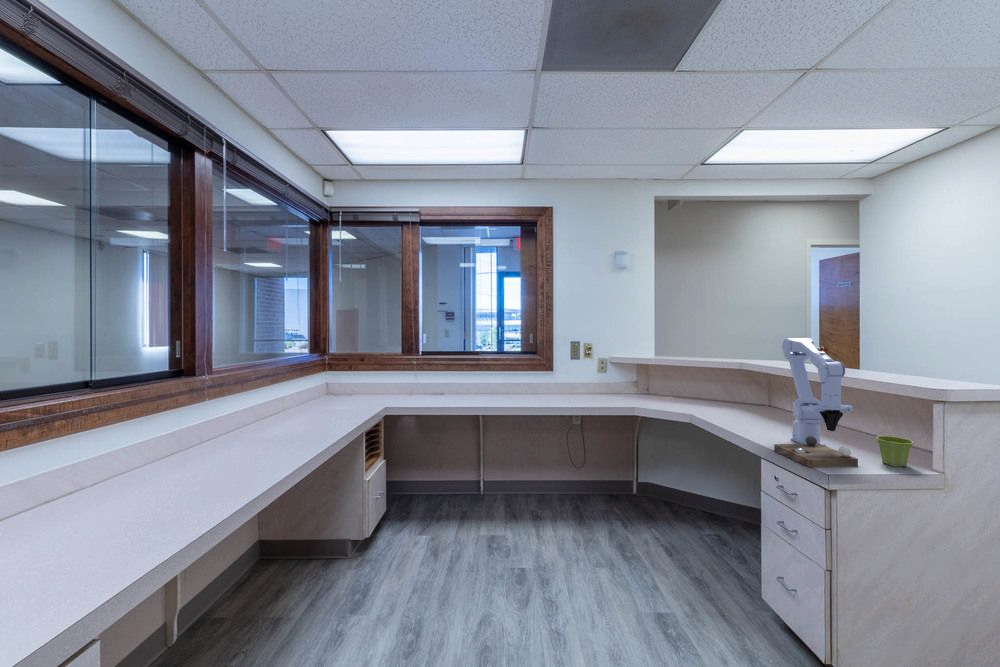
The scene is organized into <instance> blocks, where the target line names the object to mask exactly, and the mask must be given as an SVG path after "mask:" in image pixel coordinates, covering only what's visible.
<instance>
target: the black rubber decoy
mask: <svg viewBox="0 0 1000 667" xmlns="http://www.w3.org/2000/svg"><path fill="white" fill-rule="evenodd" d="M806 443H807V444H808V445H811V446H813V445H815V444H816V443H817V440H816V438H815V437H813V436H808V437H807V438H806Z"/></svg>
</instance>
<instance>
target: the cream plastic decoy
mask: <svg viewBox="0 0 1000 667" xmlns="http://www.w3.org/2000/svg"><path fill="white" fill-rule="evenodd" d="M837 451H838V452H839V454H840V455H841V456H844V457H848V456H851V455H852V451H851V448H850V447H848V446H839V448H838V449H837Z"/></svg>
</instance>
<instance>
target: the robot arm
mask: <svg viewBox="0 0 1000 667" xmlns="http://www.w3.org/2000/svg"><path fill="white" fill-rule="evenodd" d="M781 347H782V351H783V355H784V359H786V360H787V361H788V362H789V365H790V366H789V367H790V371H791V374H792V377H793V383H794V386H795V390H796V393H797V398H796V400H794V401H793V402H792V416H793V418H794V419H795V420H793V422H792V425H791V426H792V427H791V428H792V429H791V430H792V432H791V433H792V434H791V435H792V437H790V438H789V439H790V440H791V441H794V442H795V443H797V444H802V443H806V438H807V437H808V436H813V437H815V438H816V440H817V443H819V444H821V445H824V446H827V445H826V443H824V442H821V424H822V423H823V421H824V424H825V427H826V429H827V431H829V432H835V431H836V428H837V426H838V424H839V422H840V420H841V418H842V417H843V416H844V412H853V411H854V406H853V405H850V404H842V378H843V377H844V376H845V374H846V366H845V364H844V363H843V362H842V361H835V360H834V359H832V357H830V356H829V355H828V353H827V354H826V352H825V351H819V350H818V348H816V346H815V340H814V339H812V338H811V337H793V338H792V337H791V338H790V337H786V338H784V339H783V342H782V346H781ZM808 359H809V361H810V363H811V364H812V365H813V366H814V367H815V368H816V369H817V372H818V375H819V381H820V382H821V385H820V386H821V388H820V390H821V398H820V399H821V400H819V399H817V398H816V397H814V394H813V391H812V388H811V384H810V381H809V375H808V373H807V370H806V369H807V368H806V365H805V361H806V360H808Z"/></svg>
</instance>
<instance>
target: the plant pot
mask: <svg viewBox="0 0 1000 667" xmlns="http://www.w3.org/2000/svg"><path fill="white" fill-rule="evenodd" d="M875 438H876V440H877V443H878V445H879V450H880V456H881V461H882V463H883V464H887V465H888V466H891V467H907V466H908V461H909V455H910V451H911V450H910V449H911V448H912V446H913V444H914V441H913V440H911V439H907V438H904V437H898V436H892V435H891V436H890V435H878V436H876V437H875Z"/></svg>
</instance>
